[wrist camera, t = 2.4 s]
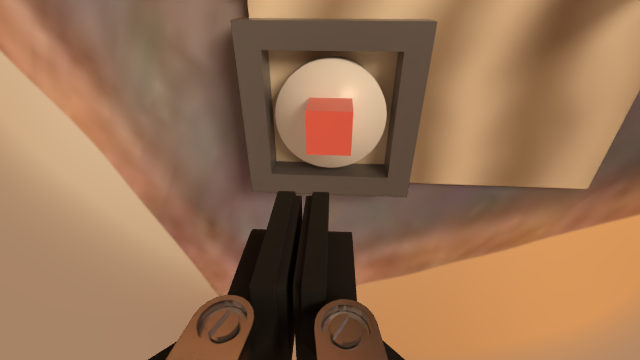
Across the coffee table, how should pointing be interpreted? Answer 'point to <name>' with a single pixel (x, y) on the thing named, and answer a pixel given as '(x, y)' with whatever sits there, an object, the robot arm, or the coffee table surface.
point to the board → (496, 84)
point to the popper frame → (332, 35)
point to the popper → (331, 112)
